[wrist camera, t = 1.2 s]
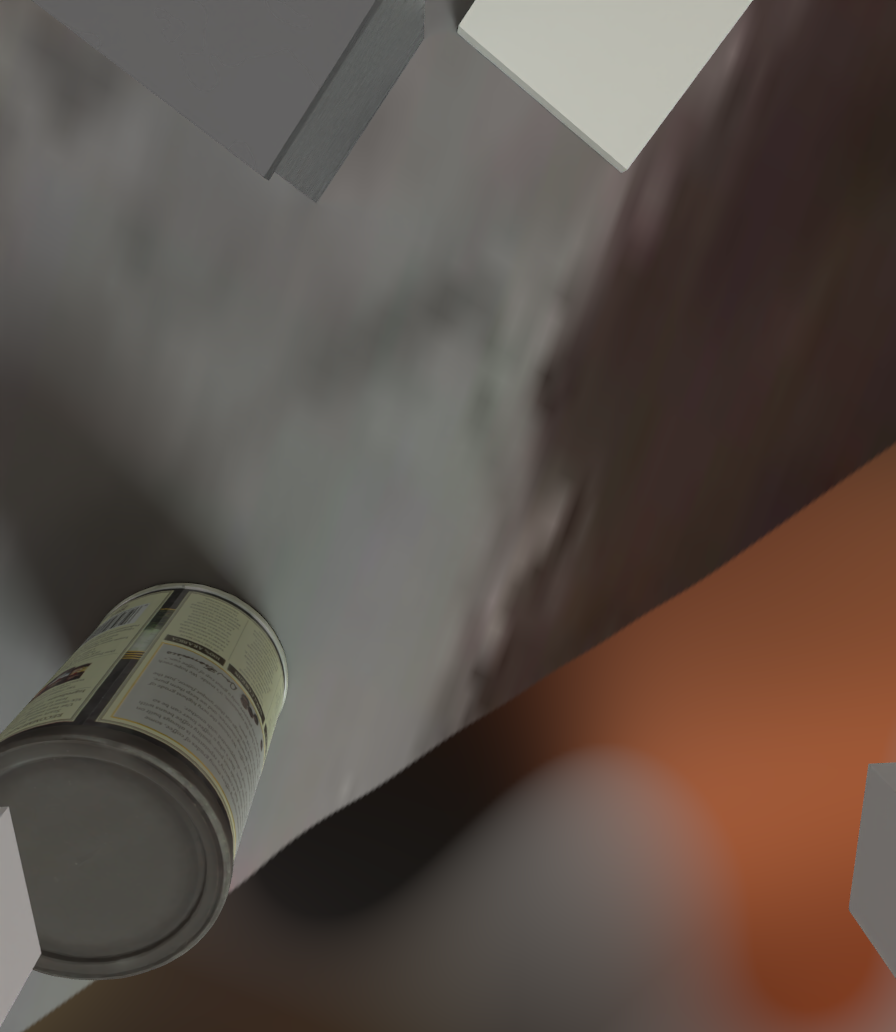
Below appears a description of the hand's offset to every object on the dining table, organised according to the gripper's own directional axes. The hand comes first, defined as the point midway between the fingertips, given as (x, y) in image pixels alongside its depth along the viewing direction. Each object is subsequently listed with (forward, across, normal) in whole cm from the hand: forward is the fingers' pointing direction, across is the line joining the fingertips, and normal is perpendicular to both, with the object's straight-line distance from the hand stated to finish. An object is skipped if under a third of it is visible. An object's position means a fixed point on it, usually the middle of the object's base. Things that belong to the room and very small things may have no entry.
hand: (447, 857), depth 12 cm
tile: (+27, +9, +20) cm, 35 cm away
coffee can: (+28, -13, -11) cm, 32 cm away
